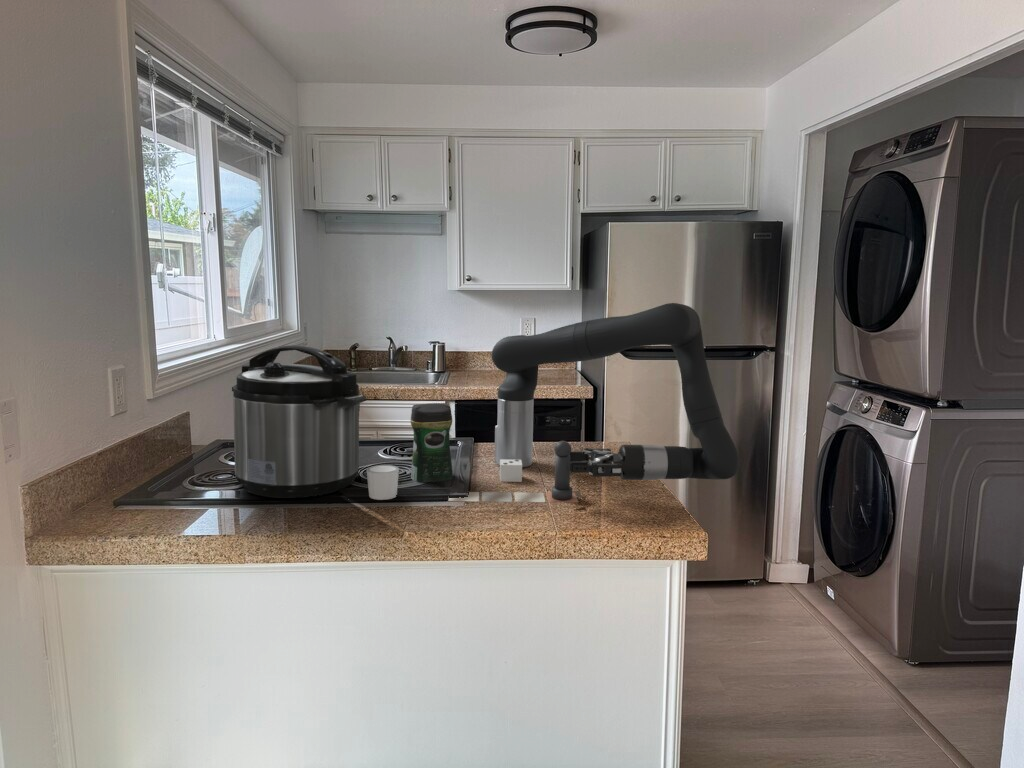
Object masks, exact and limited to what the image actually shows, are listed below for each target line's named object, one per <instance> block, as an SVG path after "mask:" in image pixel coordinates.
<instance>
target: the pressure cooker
mask: <svg viewBox="0 0 1024 768" xmlns="http://www.w3.org/2000/svg"><path fill="white" fill-rule="evenodd" d="M287 351H297V352H300V353H303V354H307V355H310V356H312V357H315V358H316V360H317V362H318V364H319V365H320V366H319V365H318V366H317V365H311V364H310V365H309V364H302V363H301V364H299V363H282V364H281V363H280V362H275V361H276V360H277V357H278V356H279V354H280V353H281V352H287ZM248 363H249V364H246V365H242V367H241V372H240V373H238V374H237V375H236V384H234V386H231V392H232V393H233V394H232V395H233V396H232V399H233V443H234V444H233V445H234V473H235V474H234V475H235V478H236V480H237V482H238V483H239V484H240V485H242V487H243V489H244V491H246V492H248V493H250V494H252V495H255V496H260V497H267V498H275V499H276V498H282V499H284V498H285V499H287V498H290V499H295V498H310V497H309V496H313V497H318V496H317V495H319V496H324V495H323V494H325V495H327V494H330V493H332V494H333V493H335V492H338V491H339V490H343V489H345V488H348V487H349V486H350V485H352V483H353V482H354V481H355V480H356V478H357V475H358V471H359V468H360V458H359V457H360V411H361V409H360V405H361V403H363V402H367V396H366V395H365V394H364V395H363V394H360V393H359V392H360V390H359V389H360V387H359V384H358V383H357V373H356V372H353V371H349V370H347V369H348V368H347V364H345V362H344V361H342V360H340V359H339V358H337V357H335V356H334V355H333V354H330V353H328V352H326V351H323V350H321V349H317V348H314V347H310V346H305V345H304V346H303V345H296V344H295V345H293V344H292V345H282V346H276V347H272V348H269V349H265V351H262V352H260V353H258V354H256V355H254V356H253V357H251V358H249V362H248Z"/></svg>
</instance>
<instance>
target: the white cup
mask: <svg viewBox="0 0 1024 768" xmlns="http://www.w3.org/2000/svg"><path fill="white" fill-rule="evenodd" d="M399 473H400V467H398V466H395V465H391V464H389V465H388V464H379V465H373V466H369V467H367V468H366V476H367V477H366V478H367V486H368V488H367V489H368V496H369V497H368V498H370V499H373V500H377V501H383V500H392V499H394V498H396V497H397V496H396V495H398V484H399Z"/></svg>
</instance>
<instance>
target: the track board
mask: <svg viewBox="0 0 1024 768" xmlns="http://www.w3.org/2000/svg"><path fill="white" fill-rule="evenodd" d="M468 492H469V495H468V497H464V498H461V497H459V498H449V497H448V500H447V501H448V502H477V503H478V502H480V492H479V491H468ZM513 495H514V502H515V503H546V499H547V502H548V503H579V500H578V498H580V499H583V496H582V494H581V491H580V490H572V499H570V500H555V499H553V498H552V492H545V494H544V492H521V491H520V492H517V491H516V492H515V491H514V492H513ZM513 495H512V492H511V491H510V492H507V491H505V492H503V491H502V492H501V491H494V492H493V491H482V492H481V502H483V503H484V502H485V503H486V502H487V503H491V502H494V503H498V502H499V503H513V497H512V496H513ZM545 495H546V498H545ZM586 510H587V506H583V507H580V508H579V507H578V508H576V509H575V508H574V511H586Z"/></svg>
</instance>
